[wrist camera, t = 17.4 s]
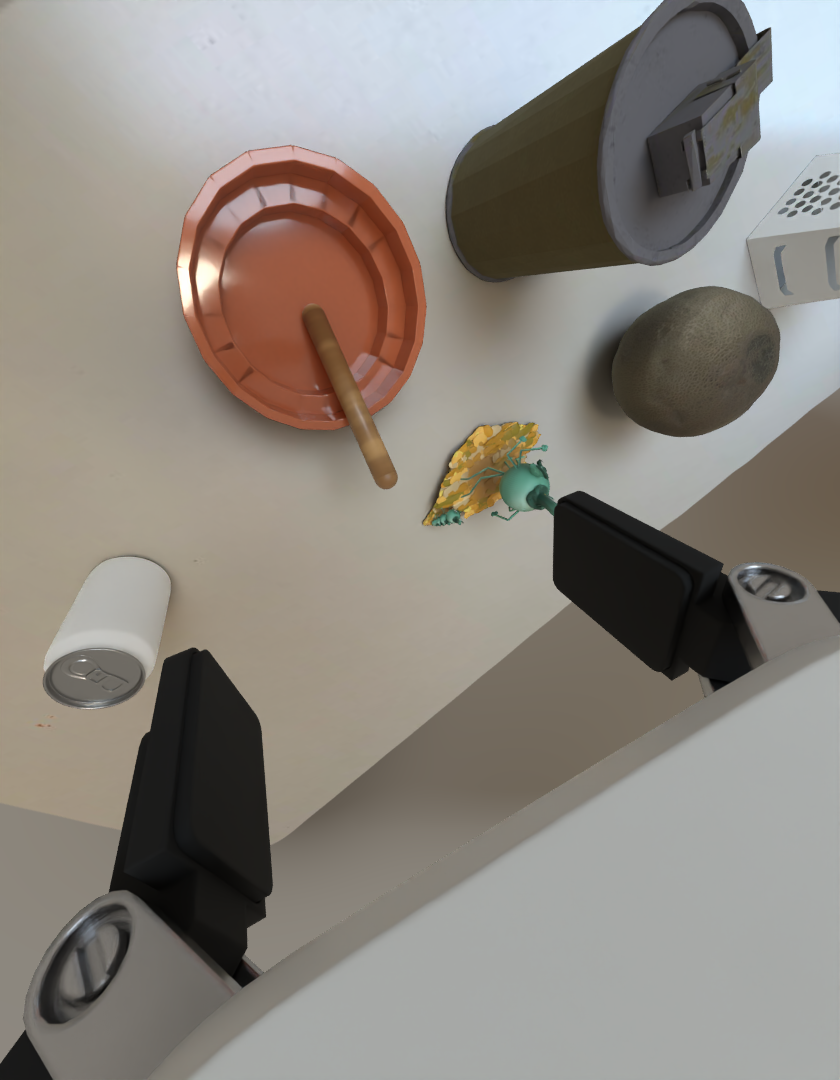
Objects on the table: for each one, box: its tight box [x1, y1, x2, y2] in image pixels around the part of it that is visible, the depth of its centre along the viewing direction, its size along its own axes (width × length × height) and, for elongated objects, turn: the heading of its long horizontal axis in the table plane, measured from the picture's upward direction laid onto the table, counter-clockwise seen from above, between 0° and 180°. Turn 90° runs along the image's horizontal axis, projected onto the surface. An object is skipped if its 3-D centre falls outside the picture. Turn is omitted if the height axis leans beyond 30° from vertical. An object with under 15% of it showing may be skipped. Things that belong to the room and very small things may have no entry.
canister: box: [446, 0, 773, 282], centre depth 26 cm, size 11×10×20 cm
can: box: [43, 557, 171, 709], centre depth 32 cm, size 6×6×12 cm
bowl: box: [176, 145, 426, 430], centre depth 29 cm, size 16×16×6 cm
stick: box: [302, 304, 398, 489], centre depth 31 cm, size 2×2×16 cm
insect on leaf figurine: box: [423, 422, 557, 526], centre depth 41 cm, size 10×18×15 cm, turn 116°
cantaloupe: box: [612, 286, 780, 437], centre depth 41 cm, size 14×14×15 cm
